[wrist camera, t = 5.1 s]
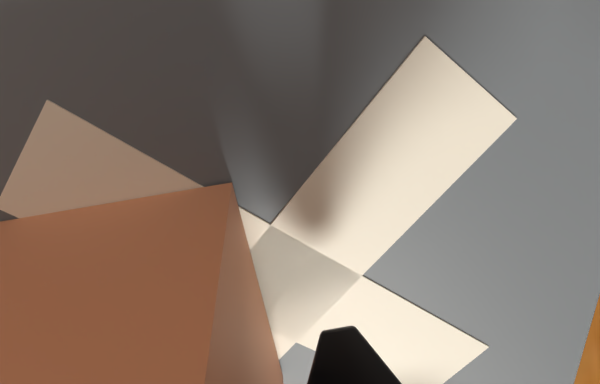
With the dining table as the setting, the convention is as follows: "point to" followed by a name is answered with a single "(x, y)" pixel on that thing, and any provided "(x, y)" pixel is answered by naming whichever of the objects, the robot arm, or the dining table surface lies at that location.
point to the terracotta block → (134, 295)
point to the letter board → (341, 159)
